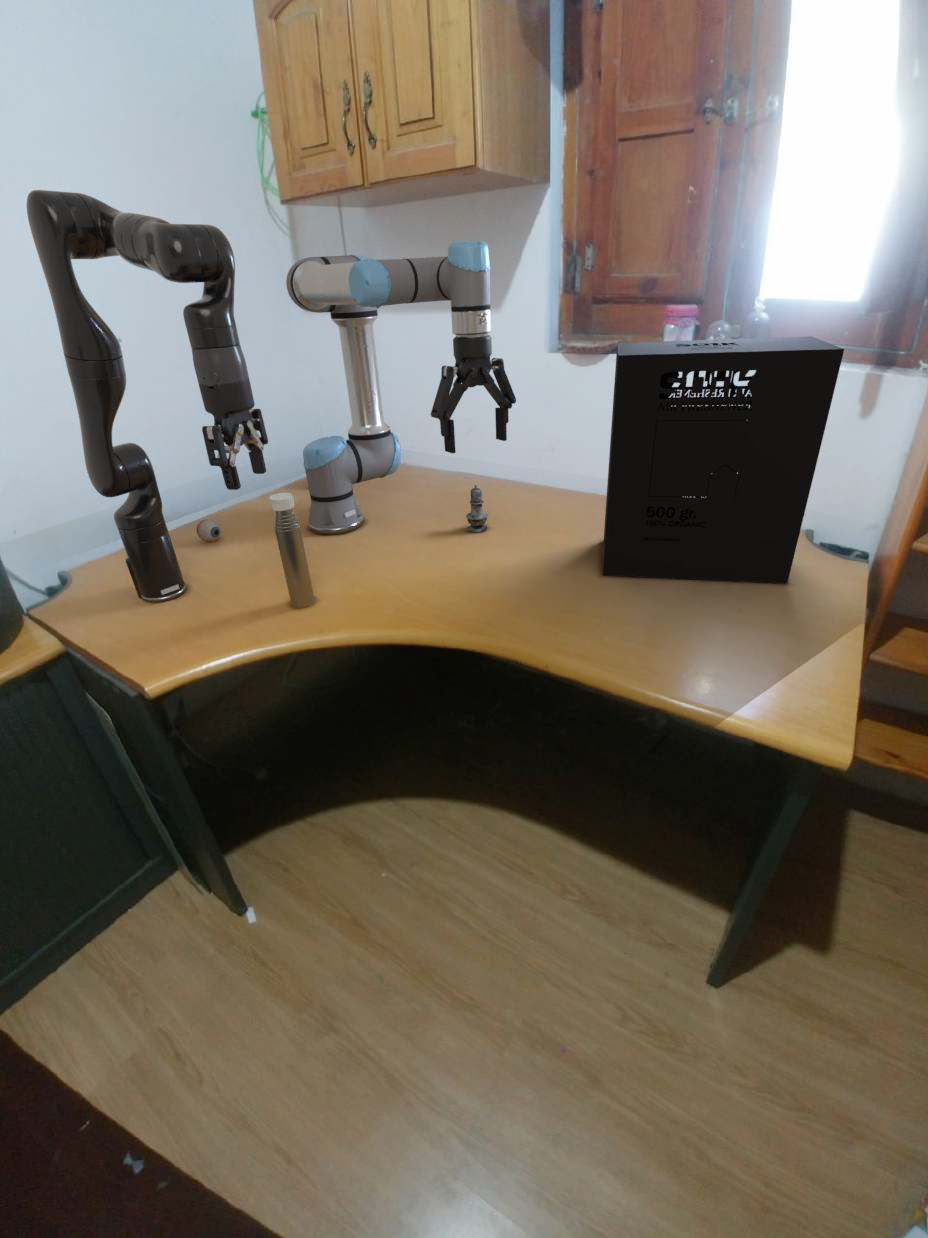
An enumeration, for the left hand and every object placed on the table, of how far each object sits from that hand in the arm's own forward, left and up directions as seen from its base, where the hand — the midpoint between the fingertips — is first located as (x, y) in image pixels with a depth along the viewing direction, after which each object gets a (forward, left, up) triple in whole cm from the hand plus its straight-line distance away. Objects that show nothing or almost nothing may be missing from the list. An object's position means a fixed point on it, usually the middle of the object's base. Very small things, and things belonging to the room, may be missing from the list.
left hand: (247, 480), depth 101 cm
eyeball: (-45, +44, -32) cm, 70 cm away
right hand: (+32, +37, -4) cm, 49 cm away
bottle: (-3, +15, -32) cm, 35 cm away
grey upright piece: (+26, +60, -32) cm, 73 cm away
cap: (-3, +15, -8) cm, 17 cm away
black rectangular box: (+78, +45, -32) cm, 96 cm away
